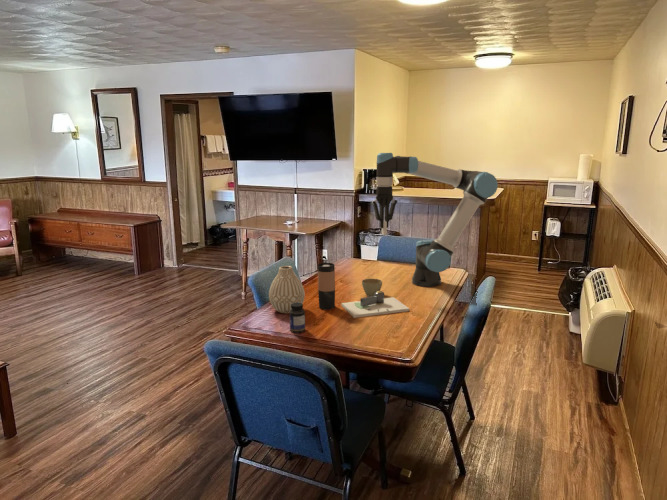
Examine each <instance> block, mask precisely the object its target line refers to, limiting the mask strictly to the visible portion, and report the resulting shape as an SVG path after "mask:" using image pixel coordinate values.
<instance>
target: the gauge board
mask: <svg viewBox="0 0 667 500" xmlns="http://www.w3.org/2000/svg"><path fill="white" fill-rule="evenodd" d="M341 307H342V308H343V309H345V311H346V312H348V314H349V315H350V316H351V317H352V318H354V319H355V318H364V317H372V316H381V315H388V314H395V313H397V314H398V313H402V312H405V313H406V312H409V311H410V307H408V306H406V305H405V304H404V303H403V302H401V301H400V300H398V299H397V298H396V297H394V296H391V297H384V303H381V304H378V303H376V304H372V305H368V306H364V307H362V306H361V300H359V301H358V300H356V301H349V302H342V303H341Z"/></svg>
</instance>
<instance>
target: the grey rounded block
mask: <svg viewBox="0 0 667 500" xmlns="http://www.w3.org/2000/svg"><path fill="white" fill-rule="evenodd" d="M384 298H385V292H384V291H382V290H380V291H377V292H375V293H374V295H373V296H364V297H361V298H360V299H359V301H361V306H362V307H364V306H368V305H372V304H376V303H378V304H381V303H384Z"/></svg>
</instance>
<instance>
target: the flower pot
mask: <svg viewBox="0 0 667 500" xmlns="http://www.w3.org/2000/svg"><path fill="white" fill-rule="evenodd" d="M361 285H362V288H363V290H364V291H363V292H364V293H365V295H366V297H369V296H373V295H374V293H375V292H377V291H381V288H382V285H383V280H382V279H378V278H364V279H362V280H361Z"/></svg>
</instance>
